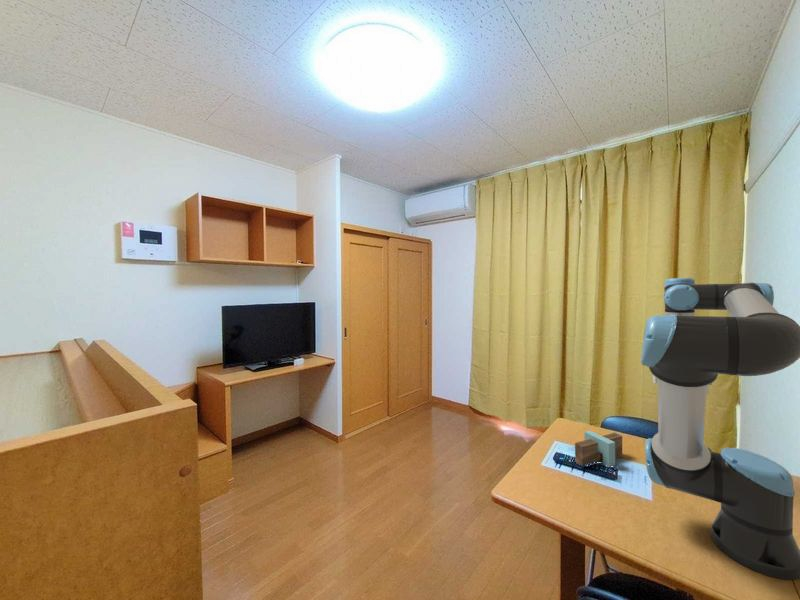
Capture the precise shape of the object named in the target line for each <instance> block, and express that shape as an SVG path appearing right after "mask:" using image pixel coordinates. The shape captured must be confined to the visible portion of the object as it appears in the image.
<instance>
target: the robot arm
mask: <svg viewBox="0 0 800 600" xmlns="http://www.w3.org/2000/svg"><path fill="white" fill-rule="evenodd" d="M663 288H664V295H663V299H664V314H663V315H660V314H659V315H657V314H656V315H652V316H649V317H648V318H647V320H646V323H645V326H644V333H643V334H644V335H643V342H642V348H641V356H640V364H641V365H642V366H645V367H648V369H649V371H650V373H651V374H652V383H653V384H657V417H658V418H657V419H658V420H657V421H658V422H657V423H658V424H657V425H658V426H657V428H658V429H657V430H658V431H657V433H655V434H654V436H653V437H652V438H650V437H649V438H647V439H646V440H645V444H644V449H645V451H644V456H645V457H644V458H645V466H646V471H647V472H646V473H647V475H648V477H649V480H651V481H652V482H653V483H654V484H656V485H660V486H663V487H665V488H667V489H671V490H675V491H678V492H681V493H686V494H689V495H692V496H696V497H698V498H699V497H700V498H703V499H707V500H710V501H713V502H716V503H720V510H719V512H718V513H717V515H716V517H714V518H715V519H714V520H713V522H712V524H711V527H710V536H711V539H712V540H711V541H713V543H714V544H715V546H716V547H717V548H718V549H719V550H720V551H721V552H722V553H724V554H725V555H727V556H728V557H729V558H730V559H732V560H734V561H736V562H737V563H739V564H740V565H742V566H744V567H746V568H748V569H751V570H753V571H755V572H758V573H760V574H762V575H766V576H768V577H773V578H775V579H780V580H782V579H783V580H791V581H792V580H798V579H800V548H799V546H798V543H797V541H796V539H795V536H794V534H793V531H794V530H793V529H794V528H793V526H794V524H793V523H794V497H795V495H796V492H795V488H794V480H793V476H792V475H791V473H790V472H789V471H788V469H786V468H785V467H784V466H783V465H781V464H779V463H777V462H776V461H774V460H772V459H770V458H769V457H765V456H764V455H760V454H758V453H755V452H753V451H750V450H747V449H742V448H737V447H724V448H722V449H721V451H720V453H719V452H714V451H713V452H711V451H709V449H708V448H709V447H708V446H707V445H706V444H705V442H704V438H705V437H704V436H705V435H704V433H705V422H706V420H705V419H706V418H705V417H706V409H707V408H706V407H707V395H709V393H710V386H711V385H712V384H713V383H715V381H717V378H718V376H719V375H727V376H728V375H729V376H738V377H756V376H765V375H769V374H772V373H776V372H779V371H781V370H784V369H787V368H788V367H790V366H791V365H793V364H794V363H795V362H797V361H798V360H799V359H800V325H799V323H797V322H796V321H795V320H794V319H792V317H789V316H786V315H785V314H783V313H780V312H778V310H777V309H776V308H775V307H774V299H775V293H774V289H773V286H772V285H771V284H769V283H766V282H763V283H762V282H748V283H747V282H741V283H740V282H739V283H706V284H704V283H701V284H699V283H698V284H696V282H695V279H694V278H693V277H681V278H680V277H679V278H678V277H677V278H676V277H674V278H667V279H665V281H664V286H663ZM695 310H700V311H701V310H703V311H704V310H709V311H712V310H713V311H714V310H715V311H716V310H717V311H727V313H728V315H729V316H717V315H716V316H714V315H713V316H707V315H696V311H695ZM707 447H708V448H707Z"/></svg>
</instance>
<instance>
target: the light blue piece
mask: <svg viewBox="0 0 800 600" xmlns="http://www.w3.org/2000/svg"><path fill="white" fill-rule="evenodd" d="M583 434H584V436H583V437H584V440H588V439H591V440H593V441H595V442H597V443H598V452H600V453H601V454H603V463H602V465H603V464H604V465H607V466H609V467H611V466H615V467H616V459H615V442H614V441H612V440H609V439H607V438H605V437H603V436H604V435H600V434H599V433H596V432H594V431H592V430H586V431H584V433H583ZM604 465H603V466H604Z"/></svg>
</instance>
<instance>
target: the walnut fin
mask: <svg viewBox="0 0 800 600" xmlns="http://www.w3.org/2000/svg"><path fill="white" fill-rule="evenodd" d="M602 436H603V437H605V438H607V439H609V440H612V441H614V442H615V460H617V459H619V458H622V457H623V435H621V434H619V433H616V432H612V433H608V434H604V435H602ZM574 455H575V456H574V460H575V461H574V463H575V462H576V463H578V464H580V465H581V466H583V465H585V464H588V463H594V462H595V463H597V462H603V454H601V453H600V452H598V443H597V442H595V441H593V440H591V439H588V440H585V439H583V440H581V441H577V442H575V443H574Z"/></svg>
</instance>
